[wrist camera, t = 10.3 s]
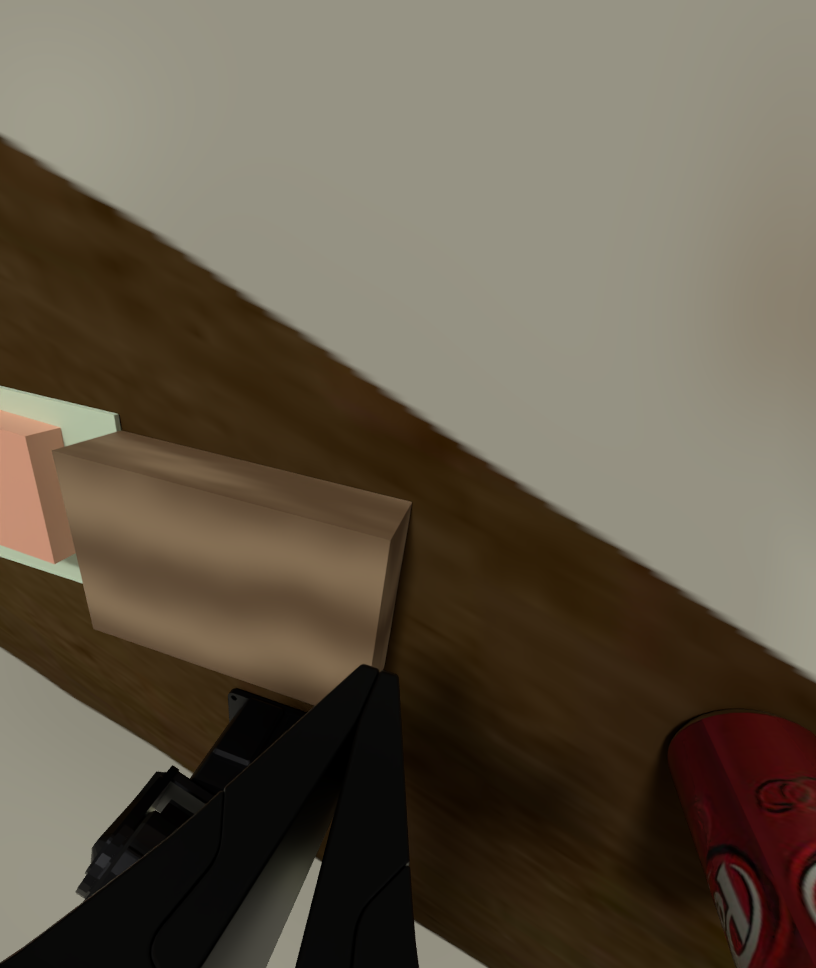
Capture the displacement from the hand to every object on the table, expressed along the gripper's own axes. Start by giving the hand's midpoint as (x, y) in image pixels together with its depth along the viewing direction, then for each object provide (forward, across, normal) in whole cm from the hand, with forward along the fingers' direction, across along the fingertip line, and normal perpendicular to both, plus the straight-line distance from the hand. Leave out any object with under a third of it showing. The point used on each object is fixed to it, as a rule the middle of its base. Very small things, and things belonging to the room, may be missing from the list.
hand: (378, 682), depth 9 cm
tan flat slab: (+12, +11, +8) cm, 18 cm away
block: (+10, +27, +7) cm, 30 cm away
